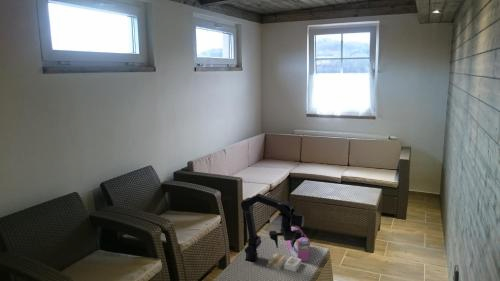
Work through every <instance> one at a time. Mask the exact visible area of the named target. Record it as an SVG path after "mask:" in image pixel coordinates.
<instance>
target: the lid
mask: <svg viewBox="0 0 500 281" xmlns="http://www.w3.org/2000/svg"><path fill="white" fill-rule="evenodd" d="M285 259H286V255H283V254H281V253H275V254H274V255H273V256H272V257H271V258H270V259H269V260H268V263H267V264H268V266H271V267H274V268H279V267H280V266H281V265H282V264H283V262H284V261H285ZM274 268H273V269H274Z"/></svg>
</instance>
